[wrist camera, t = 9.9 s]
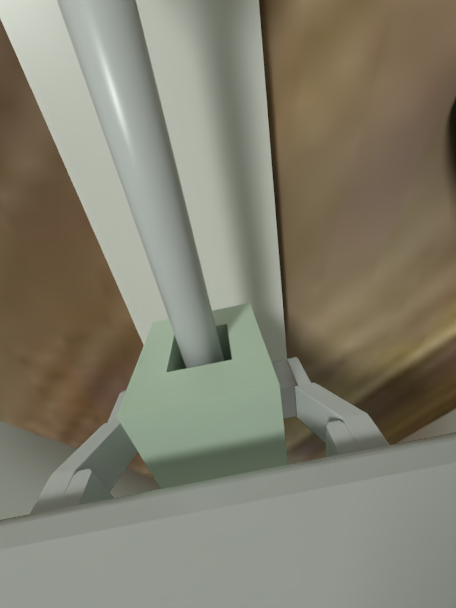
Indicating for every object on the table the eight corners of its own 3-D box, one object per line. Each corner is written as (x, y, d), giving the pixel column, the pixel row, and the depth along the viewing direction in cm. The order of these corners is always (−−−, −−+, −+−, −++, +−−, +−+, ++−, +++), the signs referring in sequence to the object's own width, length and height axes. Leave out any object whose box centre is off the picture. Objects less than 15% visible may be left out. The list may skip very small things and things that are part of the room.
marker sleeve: (249, 303, 12) (279, 384, 7) (260, 375, 14) (289, 473, 9) (153, 322, 12) (116, 416, 7) (180, 390, 14) (166, 497, 9)
